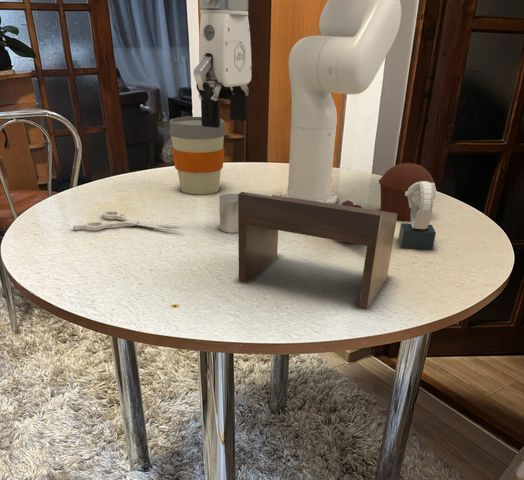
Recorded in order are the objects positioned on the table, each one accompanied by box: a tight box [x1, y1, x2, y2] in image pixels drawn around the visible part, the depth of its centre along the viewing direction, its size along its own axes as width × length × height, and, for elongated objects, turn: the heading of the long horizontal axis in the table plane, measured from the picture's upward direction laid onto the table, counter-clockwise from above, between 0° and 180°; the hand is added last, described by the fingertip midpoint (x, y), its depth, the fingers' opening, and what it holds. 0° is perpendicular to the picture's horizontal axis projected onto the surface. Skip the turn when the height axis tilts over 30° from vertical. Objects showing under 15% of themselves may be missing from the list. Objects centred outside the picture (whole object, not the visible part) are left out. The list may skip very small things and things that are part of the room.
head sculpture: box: [397, 181, 437, 251], centre depth 90 cm, size 6×8×11 cm
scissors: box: [72, 210, 180, 233], centre depth 97 cm, size 11×1×20 cm
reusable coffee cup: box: [168, 116, 226, 195], centre depth 117 cm, size 13×13×15 cm
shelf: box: [237, 191, 397, 310], centre depth 75 cm, size 12×20×13 cm, turn 65°
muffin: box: [378, 162, 436, 221], centre depth 105 cm, size 12×11×10 cm
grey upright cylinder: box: [218, 193, 239, 234], centre depth 96 cm, size 5×5×6 cm
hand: (225, 123), depth 88 cm, fingers open, 9 cm apart
